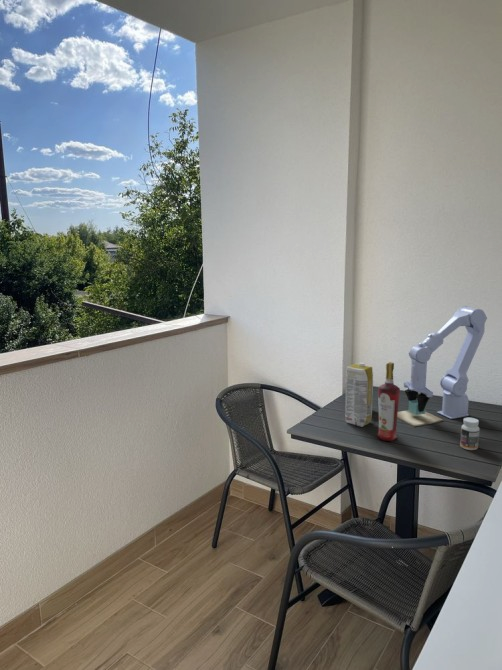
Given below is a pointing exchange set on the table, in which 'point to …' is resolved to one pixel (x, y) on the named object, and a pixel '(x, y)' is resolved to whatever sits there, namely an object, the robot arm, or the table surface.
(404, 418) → the birch board
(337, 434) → the table surface
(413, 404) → the teal cube
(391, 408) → the liquor
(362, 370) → the juice carton
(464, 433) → the pill bottle
